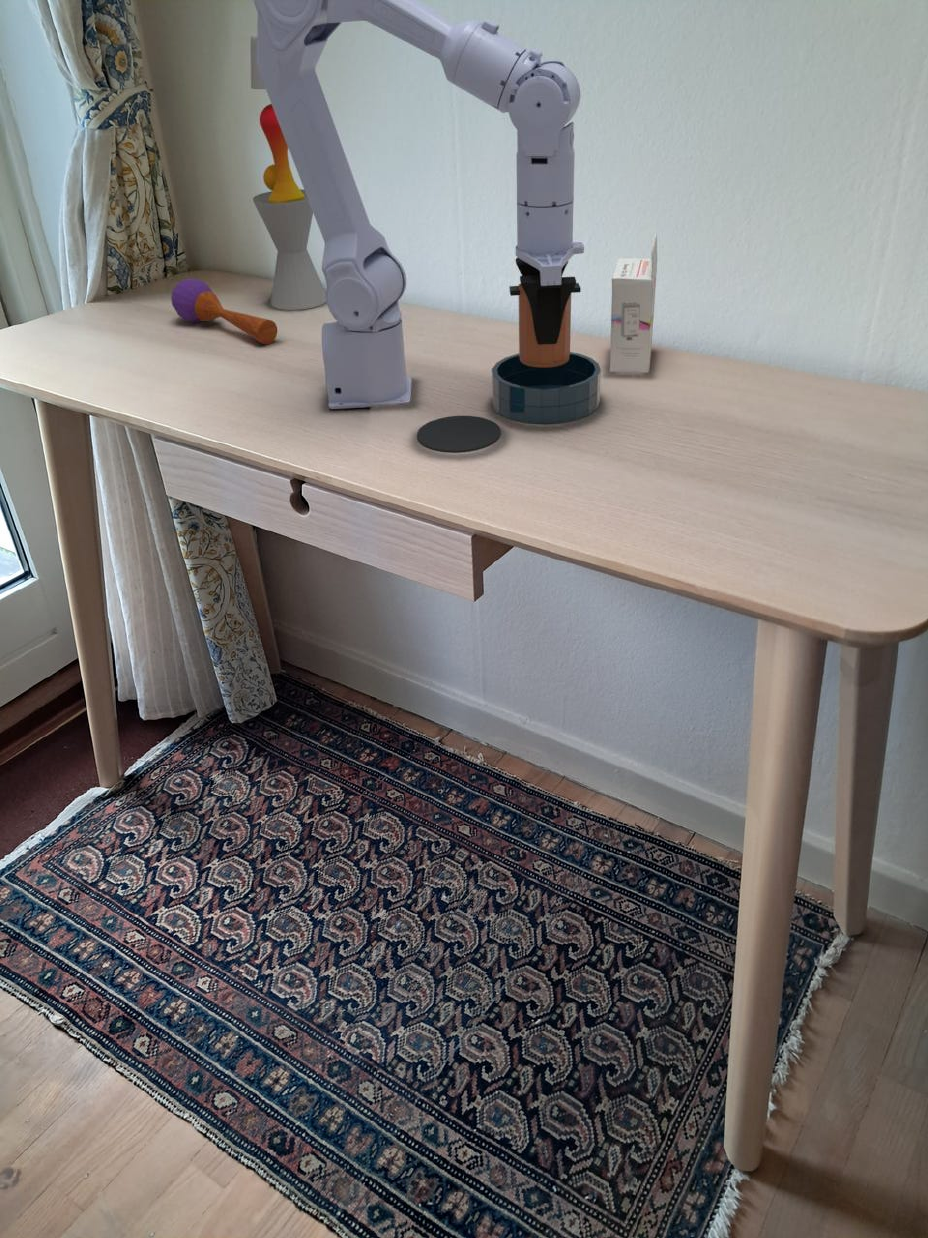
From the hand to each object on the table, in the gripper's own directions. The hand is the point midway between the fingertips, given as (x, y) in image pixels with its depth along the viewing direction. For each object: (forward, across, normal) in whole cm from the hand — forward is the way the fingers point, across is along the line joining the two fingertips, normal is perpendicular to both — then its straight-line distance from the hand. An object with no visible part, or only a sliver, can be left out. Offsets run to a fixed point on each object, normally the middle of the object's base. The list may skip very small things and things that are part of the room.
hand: (544, 333), depth 107 cm
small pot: (+3, 0, 0) cm, 3 cm away
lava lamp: (+9, +45, +33) cm, 57 cm away
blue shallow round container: (+8, 0, 0) cm, 9 cm away
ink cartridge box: (+9, +12, -12) cm, 19 cm away
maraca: (+9, +33, +42) cm, 54 cm away
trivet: (+8, -7, +10) cm, 15 cm away
